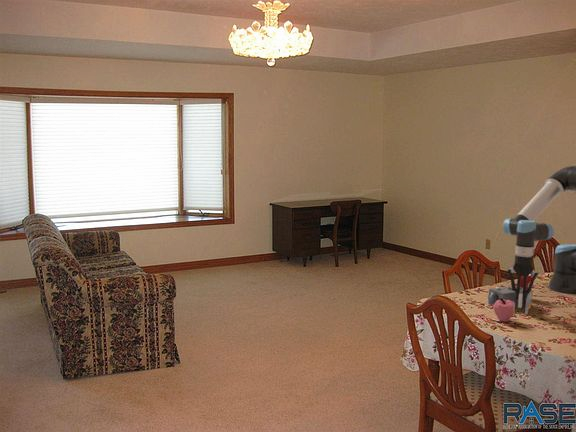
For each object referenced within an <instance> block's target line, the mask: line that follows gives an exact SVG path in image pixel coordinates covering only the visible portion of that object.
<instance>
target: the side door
mask: <svg viewBox="0 0 576 432" xmlns="http://www.w3.org/2000/svg"><path fill="white" fill-rule="evenodd" d="M533 291H534V290H533V289H531V291H530V293H529V294H528V296H527V298H526V306H524V307H525V309H524V311H525V312H524V315H528V314H529V311H530V309H531V308H532V307H531V306H532V305H533V304H532V303H533V293H534V292H533Z"/></svg>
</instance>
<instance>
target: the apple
mask: <svg viewBox="0 0 576 432" xmlns="http://www.w3.org/2000/svg"><path fill="white" fill-rule="evenodd" d="M492 306H493V308H492V309H493V312H494V313H495V315H496V318H497V319H498V320H499V321H500V322H504V323H507V322H510V320H511V318H512V317H513V316H514V315H515V310H516V307H515V303H514V302H513V301H511V300H505V299H502V298H501V299H500V300H497V301H496V302H495V304H494V305H492Z"/></svg>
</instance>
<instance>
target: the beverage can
mask: <svg viewBox="0 0 576 432" xmlns="http://www.w3.org/2000/svg"><path fill="white" fill-rule="evenodd" d="M532 277H533V275H532V273H530V274H529V275H528V276H527V287H526V289H527V290H528V287H529V285H530V282H531V279H532ZM523 282H524V276H521V284H520V287H521V288H523ZM531 290H533V287H532V288H531Z"/></svg>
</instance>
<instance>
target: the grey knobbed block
mask: <svg viewBox="0 0 576 432" xmlns="http://www.w3.org/2000/svg"><path fill="white" fill-rule="evenodd" d="M515 286H516V288H517V285H515ZM488 289H489V290H488V296H487V299H488V300H487V301H488V302H487V303H488V304H489V305H492V306H494V304H495V302H496V301H497V300H500V299H501V298H502V299H505V300H511V301H513V302H514V303H515V308H518V300H516V292H515V291H513V290H512V285H508V286H501V287H500V286H496V287H490V288H488ZM526 290H527V289H526ZM520 292H523V288H521V287H520ZM528 294H529V293H526V298H527V296H528ZM526 298H525V301H523V302H522V307H526Z"/></svg>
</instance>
